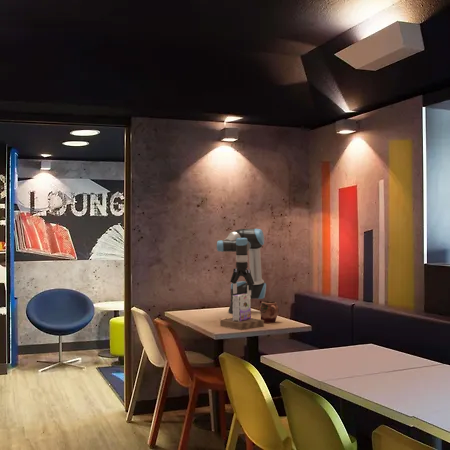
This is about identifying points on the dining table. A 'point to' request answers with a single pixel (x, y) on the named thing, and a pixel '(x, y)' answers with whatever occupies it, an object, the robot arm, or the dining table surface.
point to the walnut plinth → (242, 323)
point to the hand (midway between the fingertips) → (242, 294)
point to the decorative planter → (269, 311)
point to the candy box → (241, 307)
